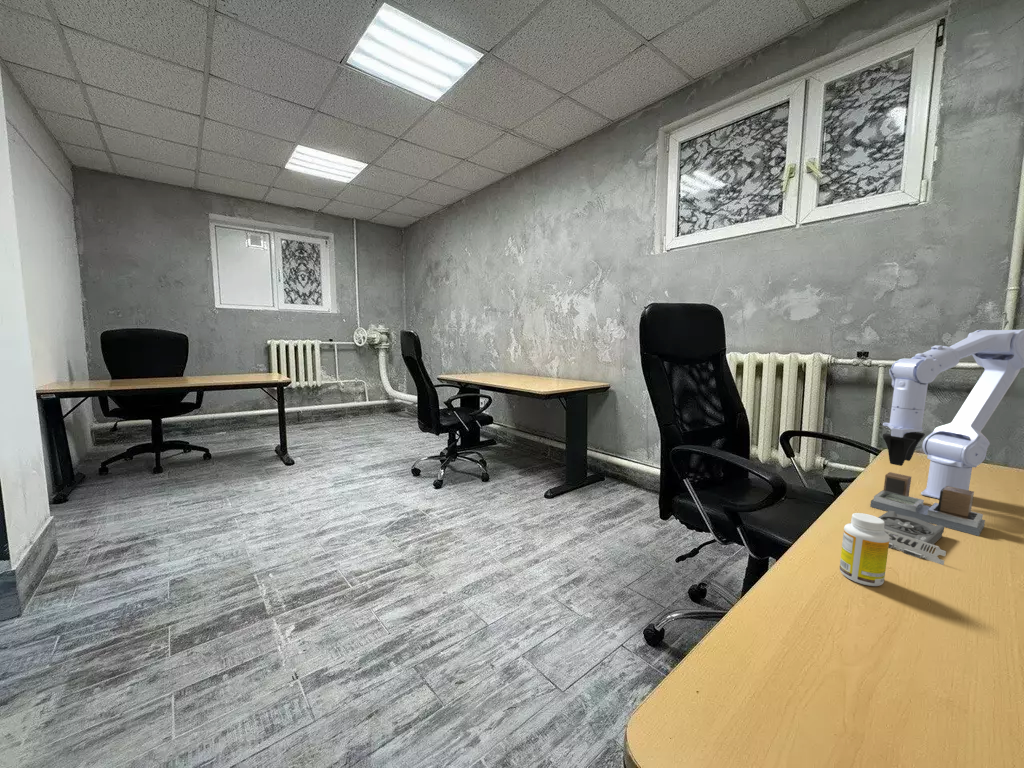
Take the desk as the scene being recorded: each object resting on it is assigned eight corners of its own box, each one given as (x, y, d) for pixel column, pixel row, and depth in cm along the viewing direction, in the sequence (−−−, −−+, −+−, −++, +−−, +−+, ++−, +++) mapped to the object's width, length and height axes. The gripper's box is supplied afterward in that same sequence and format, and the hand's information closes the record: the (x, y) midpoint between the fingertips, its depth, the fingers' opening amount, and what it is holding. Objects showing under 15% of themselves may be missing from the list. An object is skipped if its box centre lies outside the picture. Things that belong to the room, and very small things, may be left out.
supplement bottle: (890, 582, 65) (899, 522, 64) (872, 591, 63) (881, 528, 61) (849, 565, 70) (856, 508, 69) (831, 572, 68) (838, 513, 66)
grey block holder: (879, 499, 100) (883, 470, 99) (984, 526, 86) (989, 492, 86) (870, 506, 96) (874, 476, 95) (978, 536, 82) (984, 500, 81)
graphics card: (944, 550, 70) (857, 522, 80) (941, 571, 70) (854, 540, 80) (967, 528, 79) (886, 505, 89) (963, 547, 79) (883, 521, 89)
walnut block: (886, 494, 104) (889, 472, 103) (908, 499, 101) (911, 476, 100) (882, 498, 102) (885, 475, 101) (903, 503, 98) (907, 479, 98)
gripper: (893, 403, 106) (886, 453, 108) (877, 407, 98) (870, 462, 99) (931, 407, 100) (924, 460, 102) (918, 412, 92) (910, 470, 94)
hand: (900, 462), depth 100 cm, fingers open, 7 cm apart
